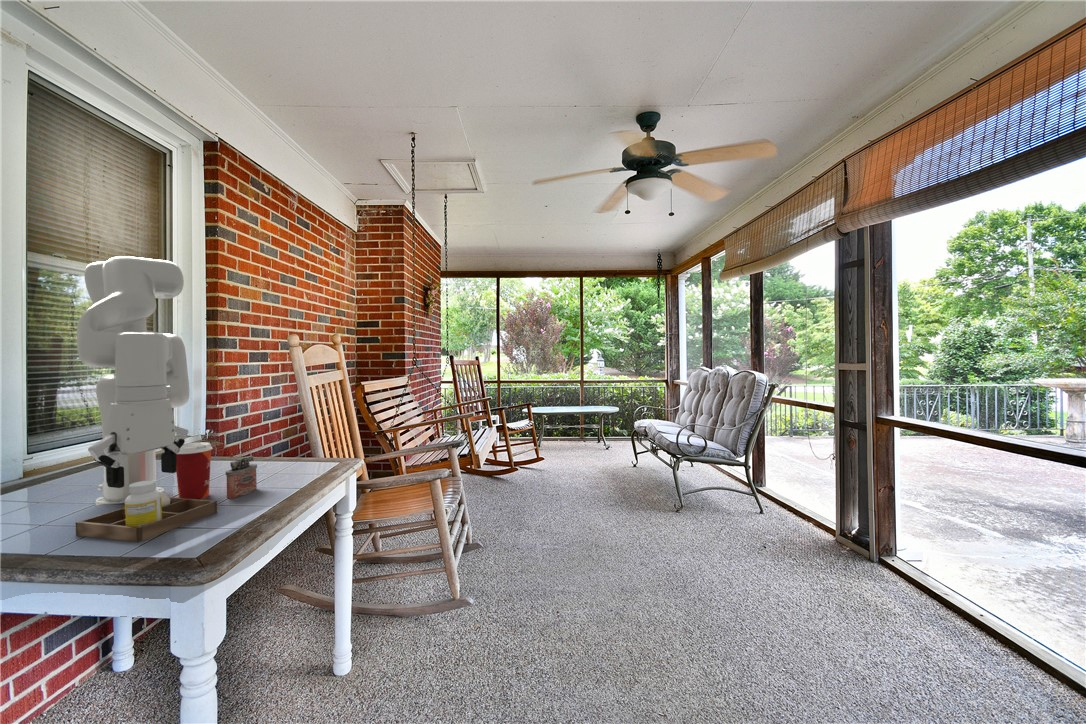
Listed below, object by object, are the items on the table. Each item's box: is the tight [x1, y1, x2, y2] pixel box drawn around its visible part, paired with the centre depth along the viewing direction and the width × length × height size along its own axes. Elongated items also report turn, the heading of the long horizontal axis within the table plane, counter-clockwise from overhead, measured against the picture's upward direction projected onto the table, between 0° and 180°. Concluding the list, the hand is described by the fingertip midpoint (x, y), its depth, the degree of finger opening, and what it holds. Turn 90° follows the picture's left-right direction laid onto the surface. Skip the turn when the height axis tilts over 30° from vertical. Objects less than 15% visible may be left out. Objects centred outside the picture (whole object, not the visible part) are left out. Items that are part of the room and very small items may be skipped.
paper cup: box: [175, 441, 214, 500], centre depth 109 cm, size 8×8×14 cm
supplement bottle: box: [124, 480, 162, 527], centre depth 88 cm, size 5×5×10 cm
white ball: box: [160, 492, 171, 507], centre depth 97 cm, size 5×5×5 cm
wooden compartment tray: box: [75, 496, 218, 543], centre depth 93 cm, size 16×16×4 cm
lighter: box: [225, 455, 258, 499], centre depth 112 cm, size 8×3×10 cm, turn 168°
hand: (143, 479), depth 89 cm, fingers open, 9 cm apart
